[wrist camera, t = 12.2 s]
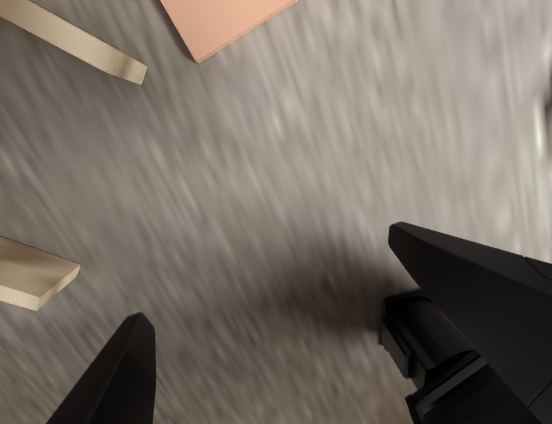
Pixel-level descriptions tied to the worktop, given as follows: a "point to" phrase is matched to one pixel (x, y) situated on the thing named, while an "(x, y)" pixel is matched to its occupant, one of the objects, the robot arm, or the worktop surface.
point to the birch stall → (18, 257)
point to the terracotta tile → (218, 21)
